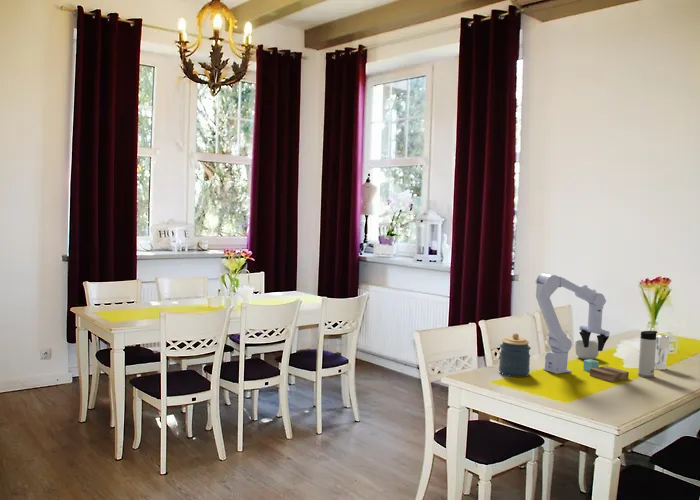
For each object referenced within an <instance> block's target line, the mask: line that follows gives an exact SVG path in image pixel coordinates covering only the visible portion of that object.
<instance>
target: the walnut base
mask: <svg viewBox="0 0 700 500" xmlns="http://www.w3.org/2000/svg"><path fill="white" fill-rule="evenodd" d="M629 374H630V373H629V371H627V370H622V369H619V368H616V367H612V366H608V365H605V366H599V367H597V368H591V369H590V372H589V376H590V377H594V378H597V379H600V380H604V381H606V382H607V381H608V382H610V383H614V382H619V381H624V380H628V379H629Z"/></svg>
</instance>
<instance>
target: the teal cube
mask: <svg viewBox="0 0 700 500" xmlns="http://www.w3.org/2000/svg"><path fill="white" fill-rule="evenodd" d="M599 364H600V361H598V360H595V359H593V360H591V359H589V360H584V359H583V369H582V370H583V371H586V372H589V373H590V369H591V368H597V367H600V365H599Z"/></svg>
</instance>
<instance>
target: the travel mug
mask: <svg viewBox="0 0 700 500" xmlns="http://www.w3.org/2000/svg"><path fill="white" fill-rule="evenodd" d="M657 334H658V331H657V330H643V331H641V332H640V339H639V351H638V352H639V355H638V372H637V376H639V377H641V378H645V379H652V378H654V377H655V369H654V367H655V351H656V335H657Z"/></svg>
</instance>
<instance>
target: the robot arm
mask: <svg viewBox="0 0 700 500" xmlns="http://www.w3.org/2000/svg"><path fill="white" fill-rule="evenodd" d="M535 285H536V287H535V288H536V290H535V297H536V300H537V303H538V306H539V309H540V312H541V314H542V316H543V319H544V322H545V324H546V327H547V330H548V333H547V337H548V345H549V346H550V351H549V352H547V353H546V354H545V356H544V358H545V359H544V361H545V362H544V368H543V371H547V372H550V373H553V374H557V375H558V374H564V373H570V372H572V369H569V368H568V362H569V361H568V360H569V351H570V350H571V349H572V345H573V344H572V341H571V339H570V338H568V336H567V334H566V332H565V331H564V330H563V329H562V326H561V324H560V322H559V318H558V316H557V313H556V311H555V308H554V306H553V303H552V301H551V296H552V295H553V294H554V293H555V292H556V290H558V289H559V288H564V289H566V290H568V291H571V292H573V293H574V295H575V297H577V298H579V299H581V300H583V301H585V302H587V303H588V317H587V326H585V325H579V334H580V335H579V336H580V337H581V340H583V344H584V347H585V348H586V347H588V346H589V341H590V339H591V338H590V337H591V334H597V335H596V337H597V338H596V339H597V342H598V351H599V352H603V350H604V347H605V344H606V342H607V341H608V339H609V338H610V335H611V334H610V330H605V329H602V325H603V323H602V322H603V309H604V305H605V304H606V303H607V299H606V297H605V295H604V294H603V293H599V292H597V290H596V289H591V288H589V286H588V285H587V284H580V285H577V284H575V283H573V282H572V281H570V280H568V279H566V278H565V277H561V276H558V275H556V274H550V273H546V272H541V273H540V274H539V275H538V276H537V278H536V280H535Z"/></svg>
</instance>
